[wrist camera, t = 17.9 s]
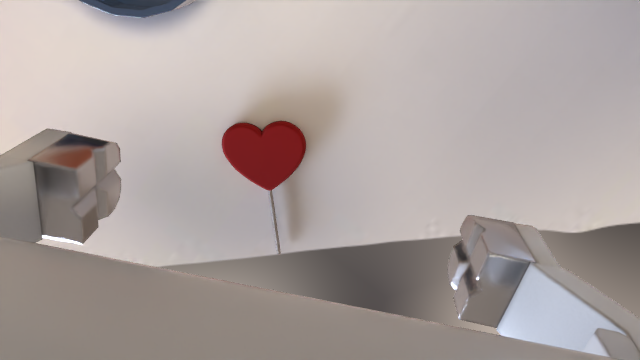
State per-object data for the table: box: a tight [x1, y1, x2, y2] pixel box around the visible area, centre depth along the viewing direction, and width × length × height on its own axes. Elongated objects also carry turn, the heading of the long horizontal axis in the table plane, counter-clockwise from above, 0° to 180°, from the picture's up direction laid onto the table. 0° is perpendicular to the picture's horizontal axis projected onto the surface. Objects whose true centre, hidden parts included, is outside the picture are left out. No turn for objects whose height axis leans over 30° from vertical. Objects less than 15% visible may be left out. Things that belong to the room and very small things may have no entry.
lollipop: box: [222, 121, 306, 254], centre depth 46 cm, size 8×1×15 cm
